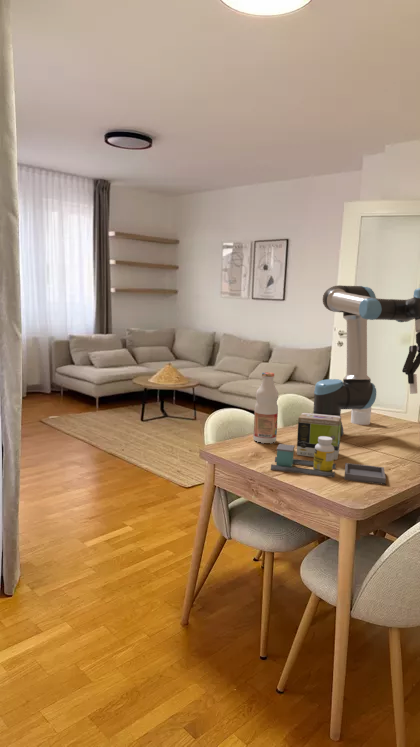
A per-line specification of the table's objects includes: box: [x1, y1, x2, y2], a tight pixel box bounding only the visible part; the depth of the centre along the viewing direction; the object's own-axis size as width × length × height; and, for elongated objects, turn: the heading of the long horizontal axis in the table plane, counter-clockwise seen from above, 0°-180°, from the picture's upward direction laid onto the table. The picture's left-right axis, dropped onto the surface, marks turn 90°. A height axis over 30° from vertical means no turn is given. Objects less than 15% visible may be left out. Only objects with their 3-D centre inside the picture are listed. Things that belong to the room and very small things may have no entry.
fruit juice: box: [252, 371, 279, 444], centre depth 203 cm, size 9×9×28 cm
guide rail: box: [270, 456, 337, 478], centre depth 173 cm, size 10×21×2 cm, turn 74°
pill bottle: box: [312, 436, 335, 472], centre depth 170 cm, size 6×6×12 cm
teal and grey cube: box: [275, 443, 296, 467], centre depth 174 cm, size 6×5×6 cm
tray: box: [343, 462, 387, 486], centre depth 167 cm, size 12×13×2 cm
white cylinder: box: [350, 406, 372, 426], centre depth 242 cm, size 9×9×12 cm
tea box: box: [296, 412, 342, 461], centre depth 189 cm, size 15×10×15 cm
